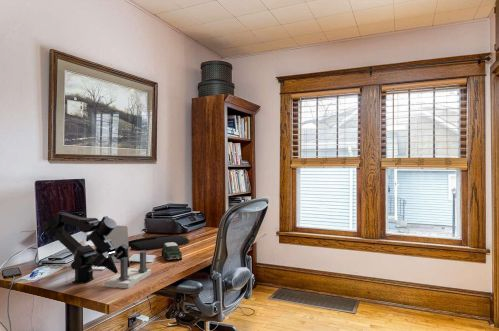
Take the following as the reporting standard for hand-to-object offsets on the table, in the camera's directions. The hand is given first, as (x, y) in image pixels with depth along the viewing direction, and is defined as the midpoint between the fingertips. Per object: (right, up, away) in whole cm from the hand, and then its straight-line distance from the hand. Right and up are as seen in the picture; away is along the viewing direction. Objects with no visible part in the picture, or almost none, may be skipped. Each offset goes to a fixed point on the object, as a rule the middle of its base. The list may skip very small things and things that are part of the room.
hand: (123, 269), depth 142 cm
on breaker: (+4, -5, +13) cm, 14 cm away
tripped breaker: (0, -4, +1) cm, 4 cm away
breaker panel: (0, -7, +7) cm, 10 cm away
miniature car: (+10, -8, +45) cm, 47 cm away
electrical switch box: (-23, -8, +41) cm, 48 cm away
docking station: (-6, -9, +80) cm, 80 cm away
